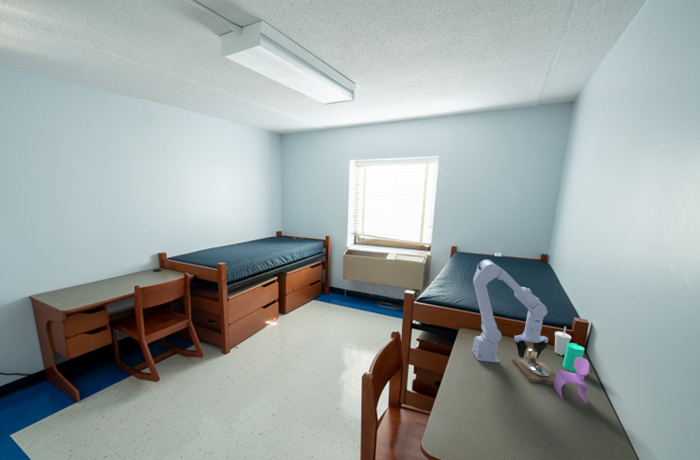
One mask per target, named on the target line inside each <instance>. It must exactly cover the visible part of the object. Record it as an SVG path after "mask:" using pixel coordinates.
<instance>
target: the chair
mask: <svg viewBox="0 0 700 460" xmlns="http://www.w3.org/2000/svg"><path fill="white" fill-rule="evenodd" d="M574 368H575V370H576V371H577V373H576V372H572V371H565V370H561V369H557V371H556V372H555V374H556V375H555V383H554V385H553V388H554V390H555V391H556V393H557V394H558V393H559V394H558V395H559V396H561V397H560V398H561V399H563V394H562V388H563V387H564V385H566V384H570V385H571V384H572V385H576V386H578V387H577V395H579V396H580V398H582V400H583V401H584V403H586V405H589V403H588V399H587V391H588V387H587V383H586V381H584V380H585V376H588V375H589V374H590V371H591V370H590V363H589V361H588V360H587V359H586V358H584V357H583V358H581V357H577V358H576V359H575V362H574Z"/></svg>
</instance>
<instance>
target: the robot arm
mask: <svg viewBox="0 0 700 460" xmlns="http://www.w3.org/2000/svg"><path fill="white" fill-rule="evenodd" d="M473 276H474V277H473V279H472V283H473V288H474V291H475V295H476V300H477V303H478V307H479V312H480V316H481V325H480V328H481V330H482V332H481V333H480V335H479V336H478V335H476V336H474V337H473V342H472V348H471V352H472V353H473V355H474V356H475V358H476V359H477V360H478V361H482V362H491V363H500V360H499V359H498V357H497V355H498V354H497V353H498V347H499V342H500V341H501V340H502V335H503V334H502V333H501V331H500V329H498V325H497V323H496V320H495V318H494V313H493V309H492V304H491V300H490V296H489V292H488V288H487V285H488V284H489V282H491V281H493V280H494V279H497V280H501V281H503V282H504V283H505V284H507V286H508V287H509V288H511V290H512V291H513V292H514V297H515V298H516V299H517V300H519V302H520V303H521V304H523V305H524V306H525V307H526V308H527V313H526V314H527V315H526V318H525V319H526V320H525V327H524V331H523V332H522V334H519V335H514V337H513V341H514V342H515V344H516V347H517V348H516V349H517V354H518V355H517V356H519V357H520V358H521V359H523V358H524V357H525V353H526V350H527V349H528V348H529V345H528V344H526V342H530V343H532V345H533V346H532V347H533V349H535V350H537V351H538V353H537V359H538V358H539V356H540V355H541V354H542V352H543V350H545V349H546V348H547V345H548V344H547V343H548V342H549V338H548V337H547V336H546V335H541V331H542V329H543V322H544V321H543V320H544V317H546V316H547V314H548V313H549V312H548V309H547V306H546V305H545V304H544V303H543V302H541V301H540V298H539V297H536V295H534V294H533V293H532V290H531V289H530V288H527V287H526V286H521V285H519V283H518V282H516V280H514V278H512V276H511V275H510V274H508V272H506V271H505V270H504V269H502V267H500V266H498V265H497V264H496V263H494V262H493V261H492V260H490V259H483V260H481V261H480V262H479V263H478V264H477V266H476V271H475V273H474V275H473Z"/></svg>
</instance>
